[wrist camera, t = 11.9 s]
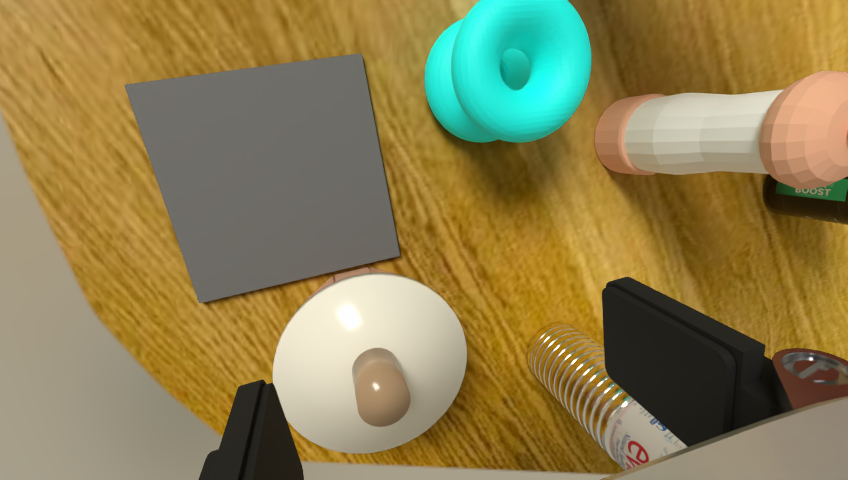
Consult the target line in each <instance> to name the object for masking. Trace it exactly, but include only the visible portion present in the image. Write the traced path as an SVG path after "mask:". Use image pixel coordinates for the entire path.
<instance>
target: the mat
mask: <svg viewBox="0 0 848 480" xmlns="http://www.w3.org/2000/svg"><path fill="white" fill-rule="evenodd" d="M125 88H126V91H127V94H128V97H129V100H130V103H131V106H132V109H133V112H134V115H135V118H136V120H137V123H138V126H139V129H140V132H141V135H142V138H143V141H144V144H145V147H146V150H147V153H148V155H149V158H150V161H151V164H152V167H153V170H154V173H155V176H156V179H157V182H158V185H159V187H160V190H161V193H162V196H163V199H164V202H165V205H166V208H167V211H168V214H169V217H170V220H171V222H172V225H173V228H174V231H175V234H176V237H177V240H178V243H179V246H180V249H181V252H182V255H183V257H184V260H185V263H186V266H187V269H188V272H189V275H190V278H191V281H192V284H193V287H194V290H195V292H196V295H197V298H198V301H199V303H203V302H207V301H211V300H216V299H220V298H224V297H228V296H233V295H237V294H241V293H245V292H249V291H254V290H258V289H262V288H266V287H271V286H275V285H279V284H283V283H287V282H292V281H296V280H300V279H304V278H309V277H313V276H317V275H321V274H325V273H330V272H334V271H338V270H342V269H346V268H351V267H355V266H359V265H363V264H368V263H372V262H376V261H380V260H384V259H389V258H393V257H397V256H400V252H399V247H398V242H397V236H396V231H395V226H394V221H393V215H392V210H391V205H390V200H389V195H388V189H387V184H386V179H385V174H384V168H383V163H382V158H381V153H380V147H379V142H378V137H377V132H376V126H375V121H374V116H373V111H372V106H371V100H370V95H369V90H368V85H367V79H366V74H365V69H364V64H363V58H362V53H361V54H353V55H346V56H338V57H330V58H323V59H315V60H308V61H300V62H293V63H285V64H278V65H270V66H262V67H255V68H247V69H240V70H232V71H225V72H217V73H210V74H202V75H195V76H187V77H179V78H172V79H164V80H157V81H149V82H142V83H134V84H127V85H125Z"/></svg>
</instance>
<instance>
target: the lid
mask: <svg viewBox="0 0 848 480" xmlns="http://www.w3.org/2000/svg"><path fill="white" fill-rule="evenodd" d="M466 363H467V348H466V340H465V336H464V332H463V329H462V327H461V324H460V322H459V320H458V318H457V317H456V315H455V313H454V312H453V310H452V309H451V308H450V307H449V305H448V304H447V303H446V302H445V300H444V299H443V298H442V297H441V296H440V295H439V294H438V293H436V292H435V291H434V290H433V289H431V288H430V287H428V286H427V285H425V284H423V283H421V282H419V281H417V280H415V279H412V278H409V277H406V276H403V275H398V274H393V273H380V272H379V273H365V274H359V275H354V276H351V277H347V278H344V279H341V280H339V281H336V282H334V283H332V284H330V285H328V286H326V287H324V288H323V289H321V290H320V291H318V292H316V293H315V294H314V295H313V296H311V297H310V298H309V299H308V300H306V301H305V302H304V303H303V304H302V305H301V306H300V307H299V308H298V309H297V310H296V312H295V313H294V314H293V316H292V317H291V318H290V320H289V321H288V323H287V325H286V327H285V328H284V330H283V332H282V334H281V337H280V339H279V342H278V345H277V349H276V354H275V358H274V364H273V384H274V386H275V388H276V391H277V394H278V397H279V400H280V403H281V406H282V409H283V412H284V415H285V417H286V419H287V420H288V422H289V423H290V424H291V425H292V426H293V428H294V429H295V430H297V431H298V432H299V433H300V434H301V435H302V436H304V437H305V438H307V439H308V440H310V441H311V442H313V443H315V444H317V445H319V446H322V447H324V448H327V449H330V450H334V451H338V452H344V453H356V454H361V453H373V452H379V451H384V450H388V449H391V448H394V447H397V446H399V445H402V444H404V443H407V442H408V441H410V440H412V439H414V438H416V437H418V436H419V435H421V434H422V433H424V432H425V431H426V430H428V429H429V428H430V427H431V426H432V425H434V424H435V423H436V422H437V421H438V420H439V419H440V418H441V417H442V416H443V415H444V413H445V412H446V411H447V409H448V408H449V407H450V405H451V404H452V402H453V401H454V399H455V397H456V396H457V393H458V391H459V389H460V387H461V384H462V381H463V378H464V375H465V369H466Z"/></svg>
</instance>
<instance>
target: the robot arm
mask: <svg viewBox="0 0 848 480" xmlns="http://www.w3.org/2000/svg"><path fill="white" fill-rule="evenodd" d="M602 304H603V330H604V357H605V369H606V372H607V374H608V376H609V377H610V378H611V380H612V381H614V382H615V383H616V384H617V385H618V386H619V387H620V388H622V389H623V390H624V391H625V392H626V393H627V394H628V395H629V396H631V397H632V398H633V399H634V400H635V401H636V402H637V403H639V404H640V405H641V406H642V407H643V408H644V409H645V410H646V411H648V412H649V413H650V414H651V415H652V416H653V417H654V418H656V419H657V420H658V421H659V422H660V423H661V424H662V425H663V426H665V427H666V428H667V429H668V430H669V431H670V432H671V433H672V434H674V435H675V436H676V437H677V438H678V439H679V440H680V441H682V442H683V443H684V444H685V445H686V446H687V448H684V449H682V450H679V451H676V452H673V453H671V454H668V455H665V456H663V457H660V458H657V459H654V460H652V461H649V462H646V463H644V464H641V465H638V466H636V467H633V468H630V469H628V470H625V471H622V472H620V473H617V474H614V475H612V476H609V477H606V478H604V479H601V480H848V361H846V360H844V359H842V358H840V357H837V356H835V355H832V354H829V353H825V352H821V351H817V350H811V349H800V348H792V349H785V350H781V351H779V352H777V353H775V355H774V356H773V357H772V360H771V359H769V358H767V357H765V356H764V352H765V345H764V344H762V343H760V342H758V341H756V340H754V339H752V338H750V337H748V336H746V335H744V334H742V333H740V332H738V331H736V330H734V329H732V328H730V327H728V326H726V325H724V324H722V323H720V322H718V321H716V320H714V319H712V318H710V317H708V316H706V315H704V314H702V313H700V312H698V311H696V310H694V309H692V308H690V307H688V306H686V305H684V304H682V303H680V302H678V301H676V300H674V299H672V298H670V297H668V296H666V295H664V294H662V293H660V292H658V291H656V290H654V289H652V288H650V287H648V286H646V285H644V284H642V283H640V282H638V281H636V280H634V279H632V278H630V277H624V278H621V279H617V280H614V281H610V282H608V283H607V285H606V288H604V289H603V291H602ZM199 480H304V476H303V469H302V465H301V462H300V459H299V456H298V453H297V450H296V447H295V444H294V441H293V438H292V435H291V432H290V429H289V426H288V423H287V420H286V417H285V415H284V412H283V409H282V406H281V403H280V400H279V397H278V394H277V391H276V388H275V386H274V384H273V383H270V384H267V385H266V383H265V381H264V380H259V381H256V382H252V383H249V384H245V385H242V386H239V388H238V390H237V393H236V396H235V399H234V403H233V406H232V409H231V412H230V415H229V418H228V422H227V425H226V428H225V431H224V434H223V438H222V441H221V444H220V447H219V449H218V450H215V451H212V452H210V453H209V454H208V456H207V458H206V460H205V463H204V466H203V469H202V472H201V475H200V477H199Z"/></svg>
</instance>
